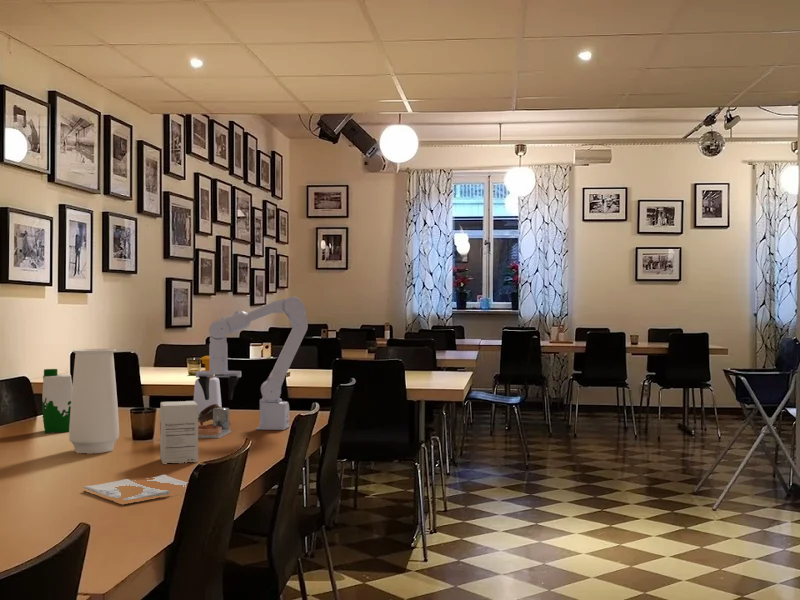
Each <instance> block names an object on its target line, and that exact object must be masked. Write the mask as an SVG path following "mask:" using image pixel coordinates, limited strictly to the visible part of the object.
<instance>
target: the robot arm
mask: <svg viewBox="0 0 800 600" xmlns="http://www.w3.org/2000/svg"><path fill="white" fill-rule="evenodd" d="M274 313H275V314H283V313H284V314H285V315H286V316H287V317H288V318H289V322H290V324H291V331H290V333H289V334H288V337H287V339H286V341H285V343H284V345H283V346H282V350H281V352H280V353H279V356H278V357H277V360H276V362H275V364H274V366H273V369H272V370H271V372H270V373H269V376H268V377H267V379H266V380H265V381H263V383H262V384H261V386H260V393H261V398H260V399H259V426H257V427H256V428H255V430H264V431H265V430H266V431H267V430H270V431H271V430H274V431H276V430H277V431H279V430H280V431H281V430H283V431H284V430H286V429H288V428H289V427H291V425H290V404H289V401H284V400H283V399H282V398H280V397H281V394H282V386H283V383H284V381H285V378H286V375H287V373H288V371H289V369H290V367H291V365H292V362H293V360H294V358H295V356H296V354H297V352H298V350H299V347H300V346H301V343H302V341H303V339H304V337H305V335H306V334H307V331H308V327H309V325H308V319H307V310H306V306H305V305H304V303H303V301H302V300H301V298H299V297H297V296H289V297H287V298H283V299H279V300H275V301H271V302H269V303H267V304H266V303H265V304H264V305H262V306H259V307H257V308H256V309H253V310H251V311H249V312H246V311H244V310H240V311H239V310H235V311H234V313H233V314H231V315H228V316H225V317H224V316H222V317H220V319H219V320H215V321H213V322H212V323H211V324H210V326H209V329H208V331H209V335H210V337H209V342H210V343H209V344H208V345H209V346H208V347H209V349H208V350H209V355H208V356H209V358H210V371H201V370H197V371H195V378H197V379H198V381H199V383H200V385H201V387H202V389H203V392H204V396H205V400H209V381H210V377H216V378H227V384H228V385H227V386H228V387H227V388H228V400H229V401H231V400H233V396H234V393H235V389H236V386H237V384H238V381H239V379H240V378H241V377H242V371H241V370H229V368H228V366H229V365H228V342H227V335H228V334H230V335H232V334H234V333H237V332H239V331H242V330H244V329H246V328H248V327H250V325H251V322H253V321H255V320H258V319H261V318H263V317H266V316H268V315H270V314H274ZM210 375H214V376H210Z"/></svg>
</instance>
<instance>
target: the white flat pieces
mask: <svg viewBox="0 0 800 600" xmlns="http://www.w3.org/2000/svg"><path fill="white" fill-rule="evenodd" d="M152 478H155V479H153V480H147V481H157V482H160V483H170V484H174V485H183V487H184V485H185V487H186V484H187V483H188V482H187V481H184V480H181V479H178V478H177V479H176V478H174V477H172V476H169V475H167V474H161V475H157V476H154V477H152ZM133 481H134V480H130V479H129V478H126V479H125V478H123V479H120V480H115V481H110V482H105V483H99V484H92V485H84V486H83V488H84V489H88V490H91V491H93V492H96V493H99V494H102V495H105V496H108V497H114V498H119V497H121V492H119V491H120V490H119V489H117V488H115V487H119V486H126V485H127V486H129V485H130V486H136V487H142V488H143V492H142V493H141V494H138V495H135V496H132V497H128V498H124V499H123V500H130V499H131V500H132V499H137V498H144V497H153V496H159V495H168V494H169V493H170V492H169V491H168V490H160V489H155V488H150V487H146V486H143V485H140V484H137V483H135V482H133Z"/></svg>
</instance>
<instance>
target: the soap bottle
mask: <svg viewBox="0 0 800 600" xmlns="http://www.w3.org/2000/svg"><path fill="white" fill-rule="evenodd" d="M199 360H200V361H201V363H202V364H204V369H203V370H200V371H210V358H209V355H204V356H202V357H201V358H199ZM210 376H215V375H210ZM219 378H220V377H210V381H209V400H205V396H204V392H203V389H202V387H201V385H200V383H199V381H198V379H199V378H197V379H196V380H195V381H194V391H193V401H194V402H196V404H197V405H198V419H200V417H199V414H200V412H201V411H202V410H204V409H205V408H207V407H208V406H210V405H213V404H218V406H220V407H222V395H221V386H220V385H221V384H220V379H219ZM222 408H223V407H222ZM210 411H211V410H210Z"/></svg>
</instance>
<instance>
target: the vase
mask: <svg viewBox="0 0 800 600" xmlns="http://www.w3.org/2000/svg"><path fill="white" fill-rule="evenodd" d="M116 351H117V349H116V348H82V349H81V348H80V349H73V350H72V352H73V353H74V354H75V356H74V357H75V358H74V365H73V377H72V398H71V411H70V426H69V432H68V439H69V442H70V443H72V445H73V447H74V451H75V453H76V452H78V453H77V454H81V453H87V454H86V455H89V454H91V455H93V453H94V454H103V453H108V452H111V451H113V450H114V445H115V443H116V441H117V440H118V439H119V437H120V425H119V424H120V422H119V421H120V420H119V406H118V395H117V394H118V393H117V382H116V381H117V380H116V370H115V367H116V366H115V358H114V357H115V356H114V353H115V352H116Z"/></svg>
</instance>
